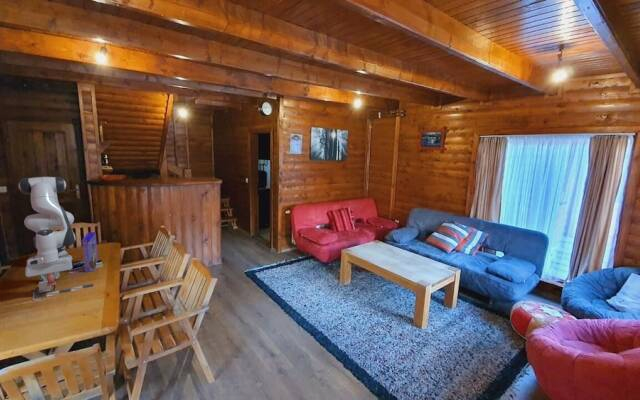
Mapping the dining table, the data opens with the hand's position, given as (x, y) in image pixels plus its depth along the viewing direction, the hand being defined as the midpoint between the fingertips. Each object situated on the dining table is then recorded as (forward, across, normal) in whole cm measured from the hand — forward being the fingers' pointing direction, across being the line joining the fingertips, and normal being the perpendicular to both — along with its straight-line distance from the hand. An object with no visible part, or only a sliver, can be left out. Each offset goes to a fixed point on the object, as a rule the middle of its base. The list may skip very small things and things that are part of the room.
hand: (51, 279), depth 170 cm
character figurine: (+10, +2, -22) cm, 24 cm away
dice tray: (+10, +4, -8) cm, 13 cm away
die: (+9, +4, -8) cm, 13 cm away
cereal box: (+10, -20, -34) cm, 41 cm away
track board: (+10, -6, 0) cm, 11 cm away
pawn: (+3, 0, 0) cm, 3 cm away
